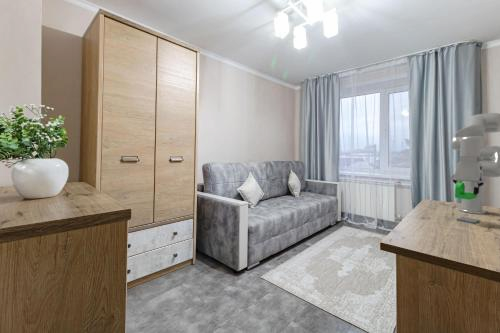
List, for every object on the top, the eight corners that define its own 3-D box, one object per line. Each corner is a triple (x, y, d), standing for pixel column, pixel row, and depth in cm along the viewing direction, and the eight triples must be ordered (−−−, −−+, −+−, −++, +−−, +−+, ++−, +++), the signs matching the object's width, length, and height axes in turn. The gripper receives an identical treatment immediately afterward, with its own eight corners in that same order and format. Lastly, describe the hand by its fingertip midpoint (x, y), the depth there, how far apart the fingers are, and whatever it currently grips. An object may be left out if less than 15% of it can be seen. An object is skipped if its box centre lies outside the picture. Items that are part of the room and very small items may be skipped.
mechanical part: (469, 199, 117) (470, 184, 117) (454, 197, 123) (455, 182, 122) (479, 196, 123) (480, 182, 122) (464, 195, 128) (465, 180, 128)
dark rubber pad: (463, 218, 128) (463, 216, 128) (480, 221, 122) (480, 220, 122) (456, 220, 124) (456, 218, 124) (474, 223, 118) (474, 222, 118)
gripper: (494, 160, 115) (492, 195, 117) (452, 159, 131) (450, 190, 132) (489, 160, 112) (486, 197, 113) (445, 159, 127) (444, 191, 129)
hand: (467, 193), depth 123 cm, fingers closed on mechanical part, 6 cm apart
